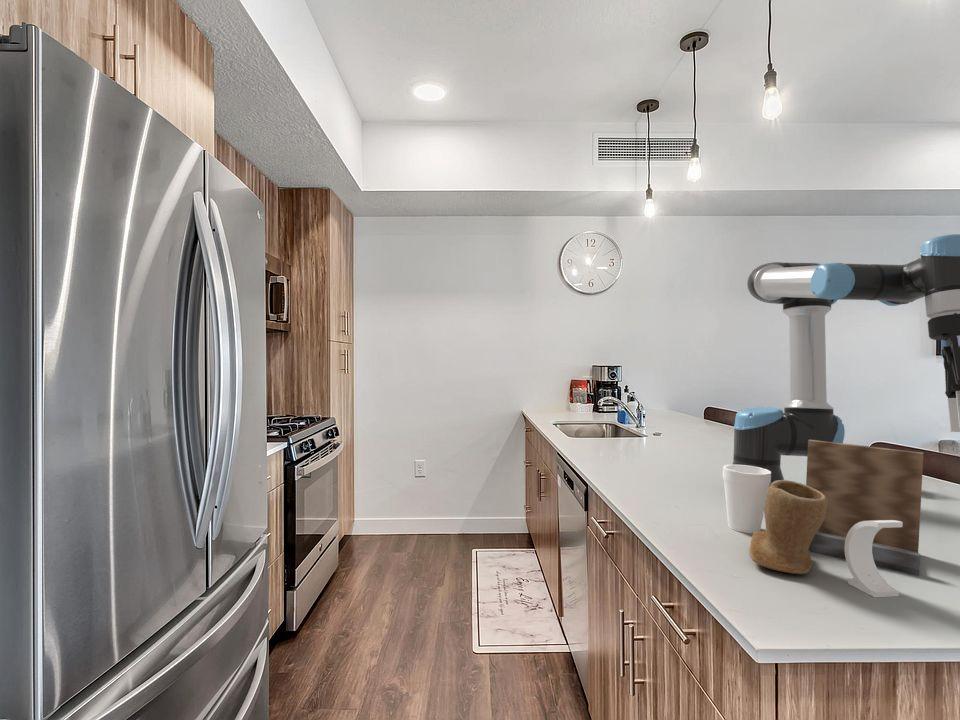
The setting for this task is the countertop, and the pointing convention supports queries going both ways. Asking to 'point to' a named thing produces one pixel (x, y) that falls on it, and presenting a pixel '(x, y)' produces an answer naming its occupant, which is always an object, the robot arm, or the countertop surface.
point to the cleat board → (868, 499)
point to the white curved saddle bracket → (867, 558)
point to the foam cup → (745, 496)
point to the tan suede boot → (788, 527)
